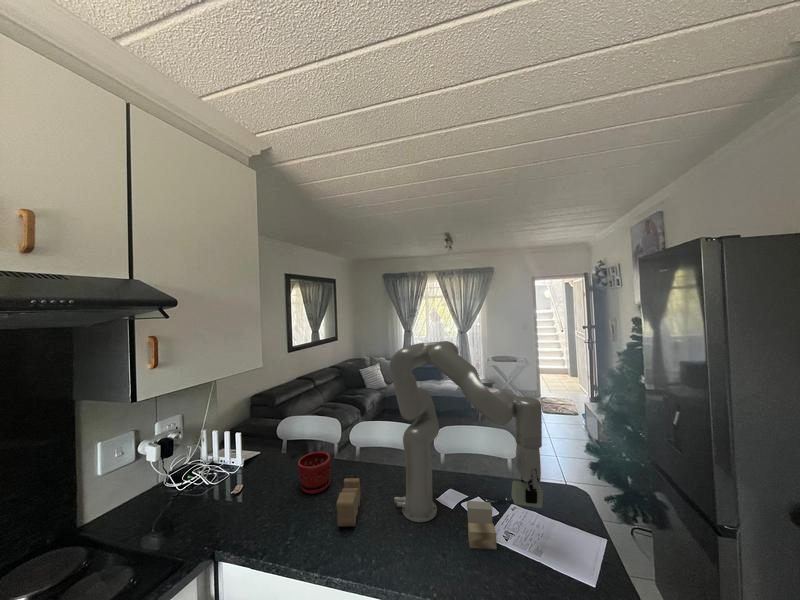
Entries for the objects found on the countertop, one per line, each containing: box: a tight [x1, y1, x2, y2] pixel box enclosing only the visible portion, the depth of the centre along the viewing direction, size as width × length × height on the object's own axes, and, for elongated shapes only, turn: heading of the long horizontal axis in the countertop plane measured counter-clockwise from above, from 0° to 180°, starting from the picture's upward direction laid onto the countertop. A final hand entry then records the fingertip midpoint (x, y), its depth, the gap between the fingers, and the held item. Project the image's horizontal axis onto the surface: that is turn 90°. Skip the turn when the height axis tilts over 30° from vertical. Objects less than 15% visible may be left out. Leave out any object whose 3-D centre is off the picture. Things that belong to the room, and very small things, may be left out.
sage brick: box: [510, 480, 544, 509], centre depth 96 cm, size 8×4×5 cm, turn 85°
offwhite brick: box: [466, 500, 493, 524], centre depth 107 cm, size 8×4×5 cm, turn 82°
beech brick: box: [467, 522, 497, 550], centre depth 96 cm, size 8×4×5 cm, turn 85°
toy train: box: [335, 477, 362, 527], centre depth 111 cm, size 6×17×10 cm, turn 179°
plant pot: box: [297, 451, 332, 494], centre depth 128 cm, size 13×13×12 cm
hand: (528, 497), depth 95 cm, fingers closed on sage brick, 4 cm apart
